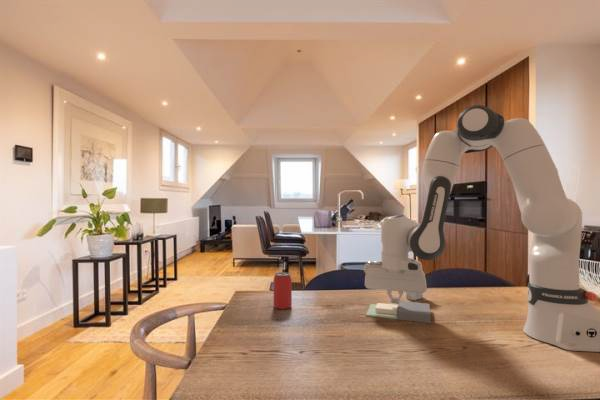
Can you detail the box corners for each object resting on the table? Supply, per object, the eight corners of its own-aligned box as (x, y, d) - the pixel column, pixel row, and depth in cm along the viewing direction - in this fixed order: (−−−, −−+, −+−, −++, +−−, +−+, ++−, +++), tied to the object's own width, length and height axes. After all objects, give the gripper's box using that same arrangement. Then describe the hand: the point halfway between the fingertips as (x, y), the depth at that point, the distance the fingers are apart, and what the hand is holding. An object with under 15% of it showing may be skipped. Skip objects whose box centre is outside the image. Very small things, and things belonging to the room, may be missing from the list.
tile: (398, 309, 113) (397, 304, 114) (397, 314, 108) (396, 310, 108) (377, 307, 116) (377, 302, 116) (375, 312, 110) (375, 307, 110)
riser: (429, 311, 113) (429, 303, 113) (430, 323, 101) (430, 315, 101) (399, 308, 116) (399, 301, 116) (397, 319, 105) (397, 311, 105)
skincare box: (416, 300, 125) (415, 269, 125) (405, 298, 128) (404, 267, 128) (423, 297, 129) (423, 266, 129) (412, 295, 132) (412, 265, 132)
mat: (399, 308, 116) (399, 306, 116) (397, 319, 105) (397, 317, 105) (370, 305, 120) (370, 303, 120) (365, 316, 108) (365, 314, 108)
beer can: (292, 304, 121) (292, 272, 121) (290, 310, 115) (290, 276, 115) (275, 304, 122) (275, 271, 122) (272, 309, 115) (271, 275, 116)
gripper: (362, 262, 112) (362, 303, 111) (426, 266, 105) (427, 309, 105) (365, 259, 118) (365, 298, 117) (426, 262, 111) (426, 303, 110)
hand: (395, 303), depth 111 cm, fingers closed
